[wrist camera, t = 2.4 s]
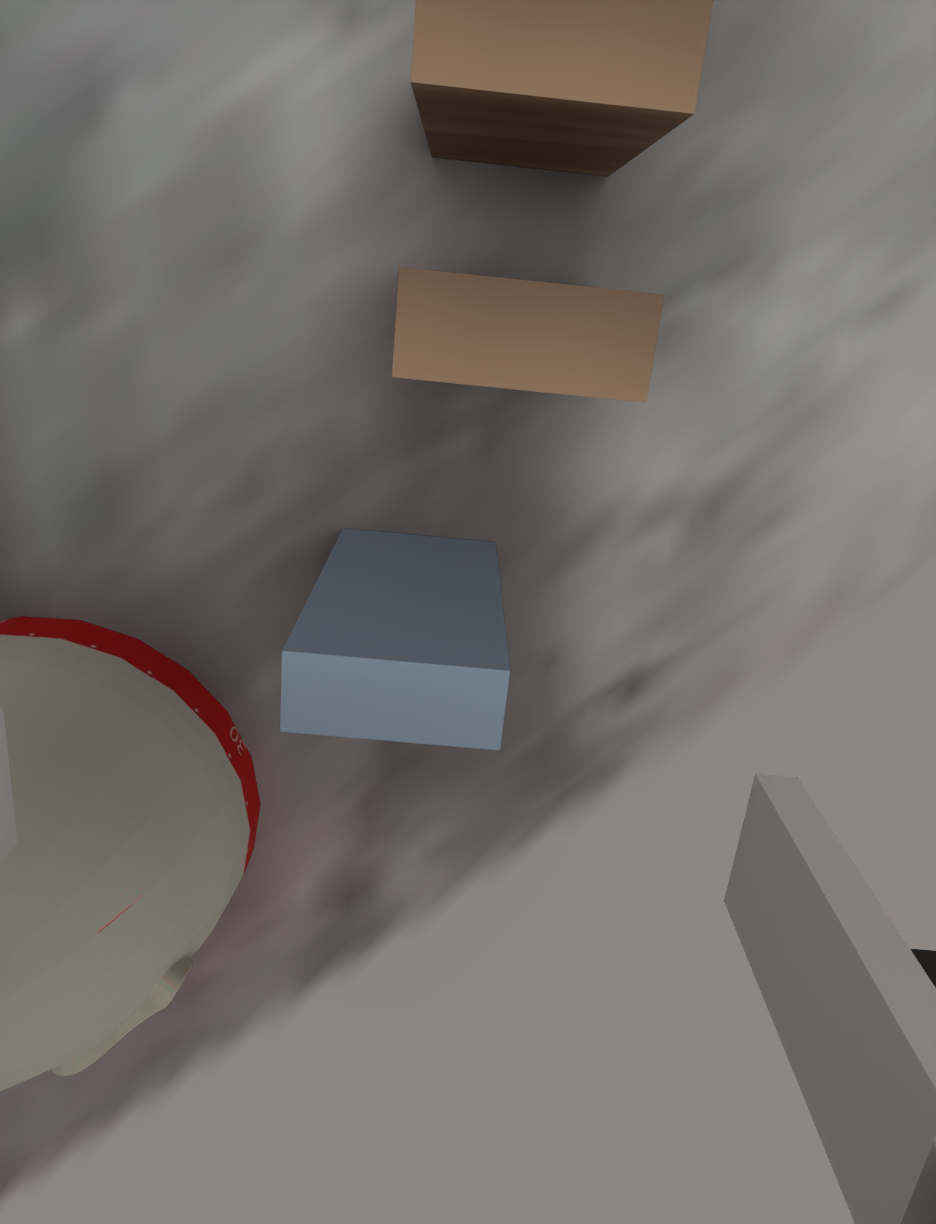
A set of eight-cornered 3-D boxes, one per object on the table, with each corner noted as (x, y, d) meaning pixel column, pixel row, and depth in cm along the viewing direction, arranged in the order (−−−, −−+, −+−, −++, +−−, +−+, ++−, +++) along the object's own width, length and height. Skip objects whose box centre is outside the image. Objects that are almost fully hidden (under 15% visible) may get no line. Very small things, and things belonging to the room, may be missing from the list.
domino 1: (489, 599, 29) (499, 750, 20) (340, 585, 29) (279, 731, 20) (495, 542, 28) (509, 671, 19) (343, 527, 28) (282, 651, 19)
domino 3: (582, 358, 26) (646, 402, 17) (418, 342, 26) (392, 377, 17) (592, 289, 26) (664, 295, 16) (423, 271, 26) (398, 266, 16)
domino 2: (608, 176, 25) (694, 113, 15) (432, 157, 24) (411, 82, 15) (619, 96, 24) (717, -22, 15) (438, 75, 24) (419, -57, 14)
